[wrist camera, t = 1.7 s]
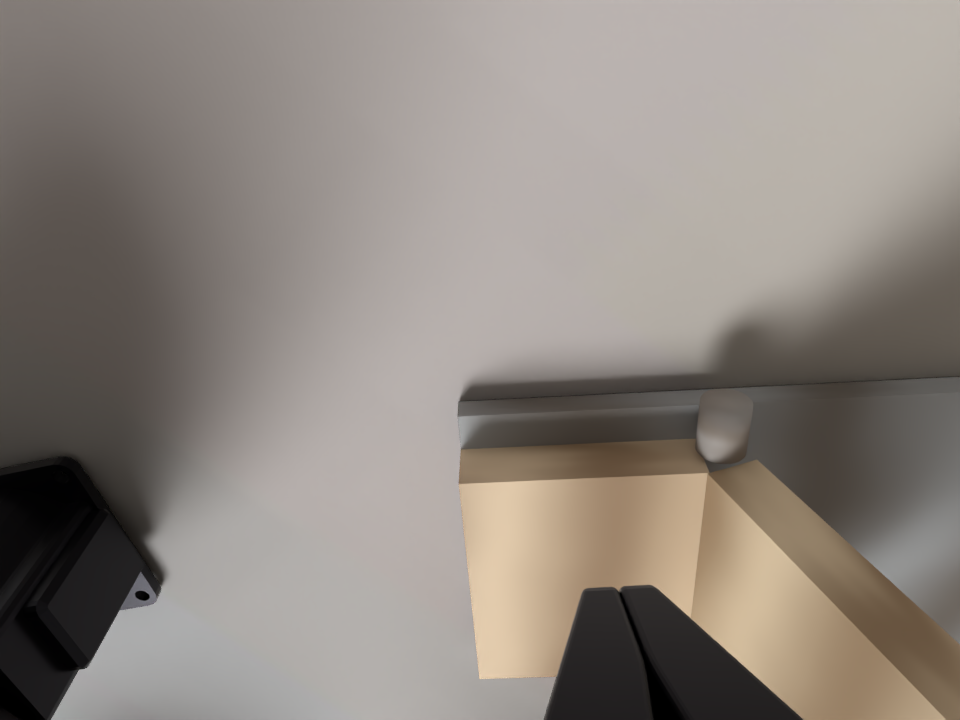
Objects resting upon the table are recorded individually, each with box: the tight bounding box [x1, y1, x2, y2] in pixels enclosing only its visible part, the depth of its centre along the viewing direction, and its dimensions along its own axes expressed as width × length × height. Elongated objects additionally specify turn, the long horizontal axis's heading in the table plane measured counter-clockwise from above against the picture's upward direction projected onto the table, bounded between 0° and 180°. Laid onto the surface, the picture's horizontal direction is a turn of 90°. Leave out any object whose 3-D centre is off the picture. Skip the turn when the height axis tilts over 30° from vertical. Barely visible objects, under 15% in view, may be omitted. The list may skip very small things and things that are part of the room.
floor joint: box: [458, 377, 960, 679], centre depth 23 cm, size 20×12×2 cm, turn 94°
